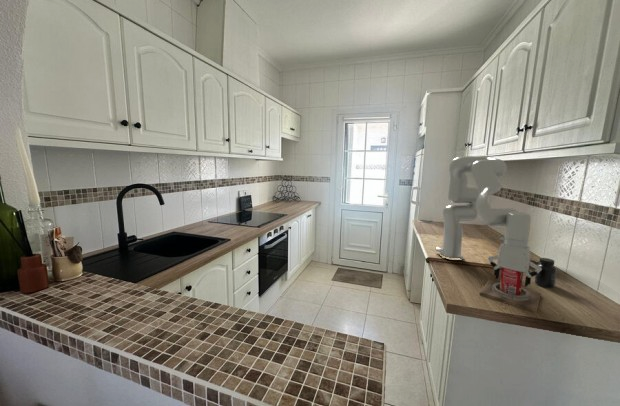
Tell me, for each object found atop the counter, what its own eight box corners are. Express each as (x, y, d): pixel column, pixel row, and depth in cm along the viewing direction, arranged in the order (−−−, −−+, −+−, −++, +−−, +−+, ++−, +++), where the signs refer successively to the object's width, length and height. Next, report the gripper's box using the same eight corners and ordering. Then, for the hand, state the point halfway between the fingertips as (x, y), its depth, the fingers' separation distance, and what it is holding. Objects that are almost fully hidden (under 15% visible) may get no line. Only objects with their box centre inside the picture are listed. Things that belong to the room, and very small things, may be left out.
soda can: (512, 288, 108) (515, 262, 106) (525, 297, 101) (528, 269, 99) (495, 288, 109) (497, 262, 107) (506, 296, 102) (509, 269, 100)
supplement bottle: (548, 282, 116) (551, 257, 114) (558, 289, 109) (562, 263, 107) (530, 280, 118) (533, 256, 116) (539, 287, 111) (542, 262, 109)
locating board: (479, 294, 106) (480, 288, 106) (489, 282, 117) (489, 276, 117) (536, 312, 93) (536, 305, 93) (540, 296, 104) (541, 290, 104)
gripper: (487, 239, 105) (484, 277, 108) (543, 249, 93) (538, 292, 95) (492, 236, 110) (488, 272, 113) (545, 244, 98) (540, 285, 100)
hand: (511, 281), depth 104 cm, fingers open, 9 cm apart
